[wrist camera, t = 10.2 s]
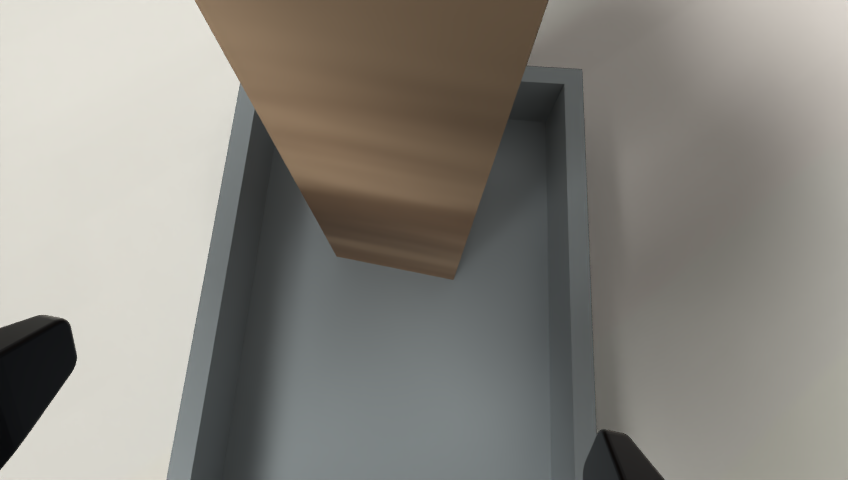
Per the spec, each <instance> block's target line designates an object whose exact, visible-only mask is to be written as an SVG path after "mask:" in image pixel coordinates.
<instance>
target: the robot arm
mask: <svg viewBox="0 0 848 480" xmlns="http://www.w3.org/2000/svg"><path fill="white" fill-rule="evenodd" d="M76 361H77V354H76V349H75V344H74V339H73V335H72V330H71V326H70V324H69V322H68V321H67V320H65V319H63V318H58V317H53V316H48V315H38V316H35V317H32V318H29V319H26V320H23V321H20V322H17V323H14V324H11V325H8V326H5V327H2V328H0V470H1V468H2V467H3V466H4V465H5V464H6V462H7V461H8V460H9V459H10V458H11V456H12V455H13V454H14V453H15V451H16V450H17V449H18V447H19V446H20V445H21V443H22V442H23V441H24V439H25V438H26V437H27V435H28V434H29V432H30V431H31V430H32V428H33V427H34V425H35V424H36V422H37V421H38V420H39V418H40V417H41V415H42V414H43V412H44V411H45V410H46V408H47V407H48V405H49V404H50V403H51V401H52V400H53V398H54V397H55V395H56V394H57V393H58V391H59V390H60V388H61V387H62V386H63V384H64V383H65V381H66V380H67V378H68V377H69V376H70V374H71V373H72V371H73V369H74V367H75V365H76ZM583 480H664V478H663V477H662V476H661V475H660V473H659V472H658V471H657V470H656V469H655V467H654V466H653V465H652V464H651V463H650V461H649V460H648V459H647V458H646V456H645V455H644V454H643V453H642V452H641V450H640V449H639V448H638V447H637V446H636V444H635V443H634V442H633V441H632V439H631V438H630V437H629V436H627V435H626V434H624V433H620V432H615V431H611V430H606V429H604V430H600V431H599V432H598V434H597V435H596V438H595V440H594V442H593V445H592V447H591V449H590V451H589V454H588V456H587V458H586V461H585V463H584V468H583Z"/></svg>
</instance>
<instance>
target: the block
mask: <svg viewBox="0 0 848 480" xmlns="http://www.w3.org/2000/svg"><path fill="white" fill-rule="evenodd" d="M195 2H196V3H197V5H198V7H199V9H200V11H201V12H202V14H203V16H204V18H205V20H206V22H207V23H208V25H209V27H210V29H211V31H212V32H213V34H214V36H215V38H216V40H217V41H218V43H219V45H220V47H221V49H222V50H223V52H224V54H225V56H226V58H227V59H228V61H229V63H230V65H231V67H232V68H233V70H234V72H235V74H236V76H237V77H238V79H239V81H240V83H241V85H242V87H243V88H244V90H245V92H246V94H247V96H248V97H249V99H250V101H251V103H252V105H253V106H254V108H255V110H256V112H257V114H258V115H259V117H260V119H261V121H262V123H263V124H264V126H265V128H266V130H267V132H268V133H269V135H270V137H271V139H272V141H273V143H274V144H275V146H276V148H277V150H278V152H279V153H280V155H281V157H282V159H283V161H284V162H285V164H286V166H287V168H288V170H289V171H290V173H291V175H292V177H293V179H294V180H295V182H296V184H297V186H298V188H299V189H300V191H301V193H302V195H303V197H304V198H305V200H306V202H307V204H308V206H309V208H310V209H311V211H312V213H313V215H314V217H315V218H316V220H317V222H318V224H319V226H320V227H321V229H322V231H323V233H324V235H325V236H326V238H327V240H328V242H329V244H330V245H331V247H332V249H333V251H334V253H335V254H336V256H337V257H342V258H347V259H351V260H356V261H361V262H366V263H371V264H376V265H381V266H386V267H391V268H396V269H401V270H406V271H411V272H416V273H421V274H426V275H431V276H436V277H441V278H446V279H451V280H454V277H455V274H456V271H457V268H458V265H459V262H460V259H461V256H462V253H463V250H464V247H465V244H466V241H467V238H468V235H469V233H470V230H471V227H472V224H473V221H474V218H475V215H476V212H477V209H478V206H479V203H480V200H481V197H482V194H483V191H484V188H485V186H486V183H487V180H488V177H489V174H490V171H491V168H492V165H493V162H494V159H495V156H496V153H497V150H498V147H499V144H500V141H501V138H502V136H503V133H504V130H505V127H506V124H507V121H508V118H509V115H510V112H511V109H512V106H513V103H514V100H515V97H516V94H517V91H518V89H519V86H520V83H521V80H522V77H523V74H524V71H525V68H526V65H527V62H528V59H529V56H530V53H531V50H532V47H533V44H534V41H535V39H536V36H537V33H538V30H539V27H540V24H541V21H542V18H543V15H544V12H545V9H546V6H547V3H548V0H195Z"/></svg>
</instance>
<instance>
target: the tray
mask: <svg viewBox="0 0 848 480" xmlns="http://www.w3.org/2000/svg"><path fill="white" fill-rule="evenodd" d="M596 435H597V431H596V406H595V381H594V355H593V330H592V305H591V279H590V254H589V229H588V203H587V178H586V153H585V127H584V102H583V76H582V69H571V68H554V67H538V66H526V68H525V71H524V74H523V77H522V80H521V83H520V86H519V89H518V91H517V94H516V97H515V100H514V103H513V106H512V109H511V112H510V115H509V118H508V121H507V124H506V127H505V130H504V133H503V136H502V138H501V141H500V144H499V147H498V150H497V153H496V156H495V159H494V162H493V165H492V168H491V171H490V174H489V177H488V180H487V183H486V186H485V188H484V191H483V194H482V197H481V200H480V203H479V206H478V209H477V212H476V215H475V218H474V221H473V224H472V227H471V230H470V233H469V235H468V238H467V241H466V244H465V247H464V250H463V253H462V256H461V259H460V262H459V265H458V268H457V271H456V274H455V277H454V280H451V279H446V278H441V277H436V276H431V275H426V274H421V273H416V272H411V271H406V270H401V269H396V268H391V267H386V266H381V265H376V264H371V263H366V262H361V261H356V260H351V259H347V258H342V257H337V256H336V254H335V253H334V251H333V249H332V247H331V245H330V244H329V242H328V240H327V238H326V236H325V235H324V233H323V231H322V229H321V227H320V226H319V224H318V222H317V220H316V218H315V217H314V215H313V213H312V211H311V209H310V208H309V206H308V204H307V202H306V200H305V198H304V197H303V195H302V193H301V191H300V189H299V188H298V186H297V184H296V182H295V180H294V179H293V177H292V175H291V173H290V171H289V170H288V168H287V166H286V164H285V162H284V161H283V159H282V157H281V155H280V153H279V152H278V150H277V148H276V146H275V144H274V143H273V141H272V139H271V137H270V135H269V133H268V132H267V130H266V128H265V126H264V124H263V123H262V121H261V119H260V117H259V115H258V114H257V112H256V110H255V108H254V106H253V105H252V103H251V101H250V99H249V97H248V96H247V94H246V92H245V90H244V88H243V87H242V85H241V83H240V87H239V92H238V98H237V103H236V108H235V114H234V119H233V125H232V130H231V135H230V141H229V146H228V151H227V157H226V162H225V168H224V173H223V178H222V184H221V189H220V195H219V200H218V205H217V211H216V216H215V221H214V227H213V232H212V238H211V243H210V248H209V254H208V259H207V264H206V270H205V275H204V281H203V286H202V291H201V297H200V302H199V307H198V313H197V318H196V324H195V329H194V334H193V340H192V345H191V350H190V356H189V361H188V367H187V372H186V377H185V383H184V388H183V393H182V399H181V404H180V410H179V415H178V420H177V426H176V431H175V437H174V442H173V447H172V453H171V458H170V463H169V469H168V474H167V480H583V468H584V463H585V461H586V458H587V456H588V454H589V451H590V449H591V447H592V445H593V442H594V440H595V438H596Z"/></svg>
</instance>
